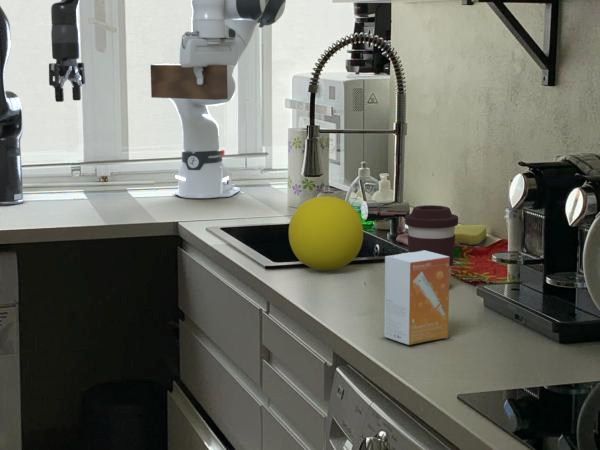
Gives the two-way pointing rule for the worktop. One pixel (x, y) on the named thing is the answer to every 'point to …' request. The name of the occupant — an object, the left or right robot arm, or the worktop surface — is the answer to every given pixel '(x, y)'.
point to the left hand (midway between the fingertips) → (68, 101)
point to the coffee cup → (432, 230)
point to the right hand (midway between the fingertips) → (209, 84)
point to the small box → (416, 297)
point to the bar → (188, 82)
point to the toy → (325, 233)
